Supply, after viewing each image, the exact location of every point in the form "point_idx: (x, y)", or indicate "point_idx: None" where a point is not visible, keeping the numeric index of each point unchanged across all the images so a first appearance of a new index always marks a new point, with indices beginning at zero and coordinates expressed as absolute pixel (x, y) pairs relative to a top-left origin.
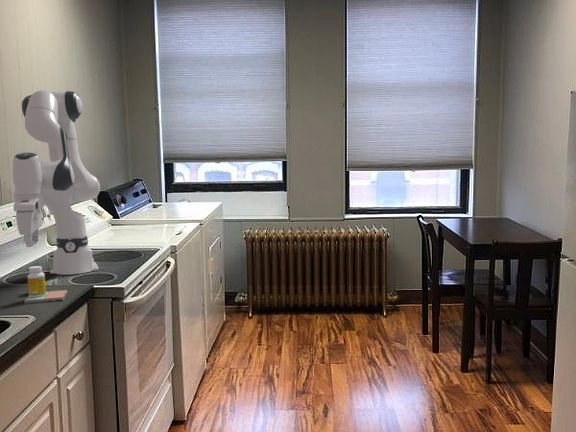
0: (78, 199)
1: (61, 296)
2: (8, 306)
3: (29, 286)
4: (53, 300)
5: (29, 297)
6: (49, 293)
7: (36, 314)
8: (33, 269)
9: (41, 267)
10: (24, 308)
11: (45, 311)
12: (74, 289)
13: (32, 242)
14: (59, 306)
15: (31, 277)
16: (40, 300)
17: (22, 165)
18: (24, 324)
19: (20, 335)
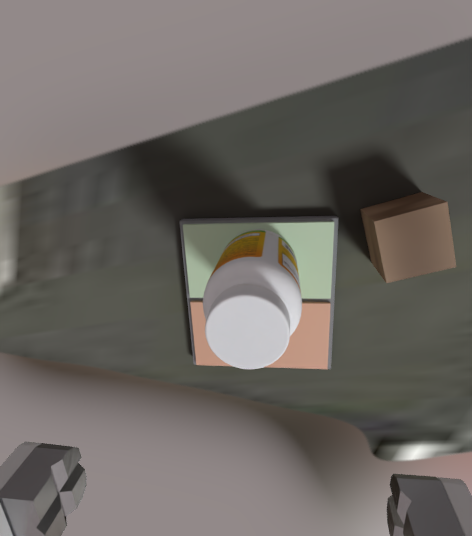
0: None
1: (210, 361)
2: (148, 158)
3: (223, 255)
4: (192, 330)
5: (229, 235)
6: None
7: (13, 299)
8: (205, 324)
9: (245, 366)
10: (102, 238)
11: (49, 322)
12: (394, 380)
13: (53, 531)
14: (111, 356)
15: (205, 289)
16: (186, 286)
17: None
18: None
19: None
